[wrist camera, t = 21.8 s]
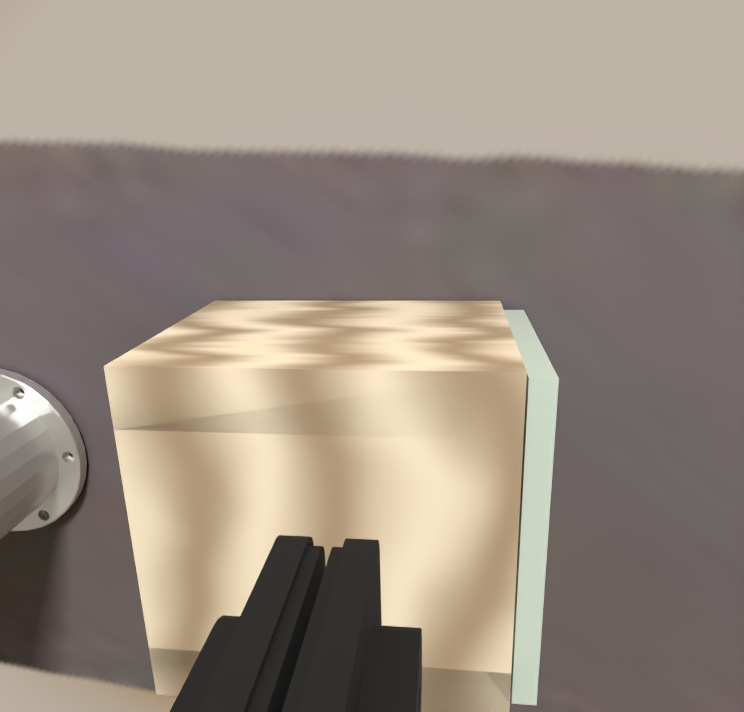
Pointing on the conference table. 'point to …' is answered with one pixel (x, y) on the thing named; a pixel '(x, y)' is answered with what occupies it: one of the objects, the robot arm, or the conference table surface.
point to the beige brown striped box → (330, 470)
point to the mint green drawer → (532, 507)
